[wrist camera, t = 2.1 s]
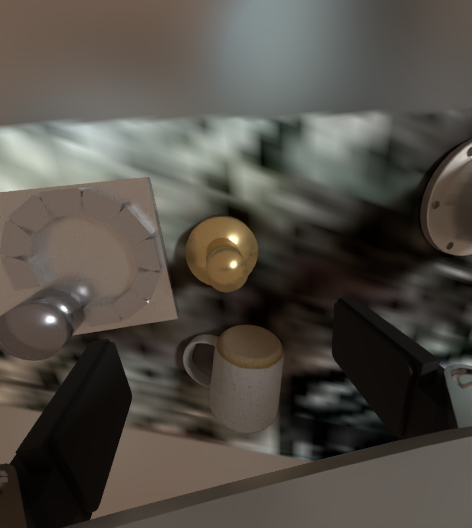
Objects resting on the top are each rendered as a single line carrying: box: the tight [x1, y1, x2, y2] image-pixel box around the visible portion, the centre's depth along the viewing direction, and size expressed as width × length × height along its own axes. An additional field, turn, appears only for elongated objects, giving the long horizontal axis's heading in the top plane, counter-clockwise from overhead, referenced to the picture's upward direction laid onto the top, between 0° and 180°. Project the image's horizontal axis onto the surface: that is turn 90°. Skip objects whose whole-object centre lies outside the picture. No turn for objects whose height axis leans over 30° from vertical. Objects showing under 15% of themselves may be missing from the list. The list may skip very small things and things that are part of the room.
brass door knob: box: [185, 215, 258, 292], centre depth 21 cm, size 7×7×7 cm
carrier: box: [0, 177, 179, 360], centre depth 20 cm, size 17×14×5 cm
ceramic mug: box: [183, 325, 284, 433], centre depth 25 cm, size 11×8×8 cm
